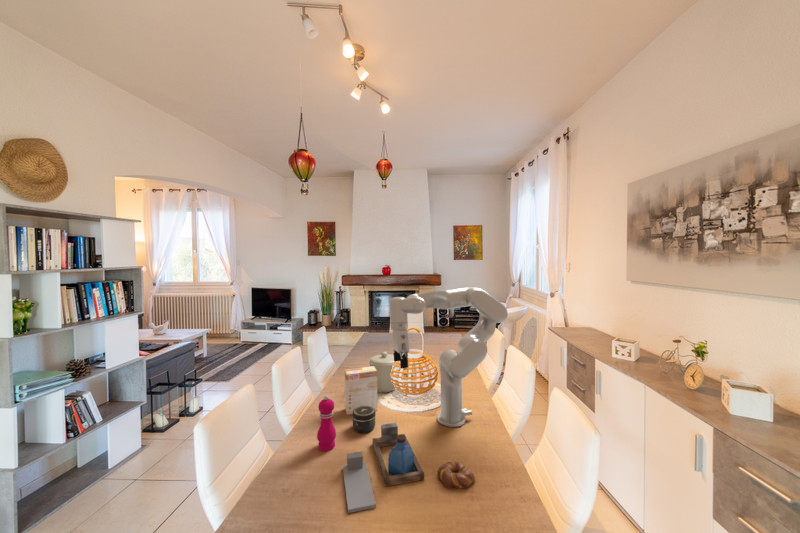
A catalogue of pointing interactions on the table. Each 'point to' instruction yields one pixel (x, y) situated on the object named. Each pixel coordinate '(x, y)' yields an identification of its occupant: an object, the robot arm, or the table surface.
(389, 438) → the rectangular wooden frame
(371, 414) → the jar
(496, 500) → the table surface
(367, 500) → the grey l-shaped piece
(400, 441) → the perfume bottle
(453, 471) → the pretzel
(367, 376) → the coffeecake box
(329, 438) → the pepper mill
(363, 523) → the table surface
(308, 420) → the table surface
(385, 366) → the canister
